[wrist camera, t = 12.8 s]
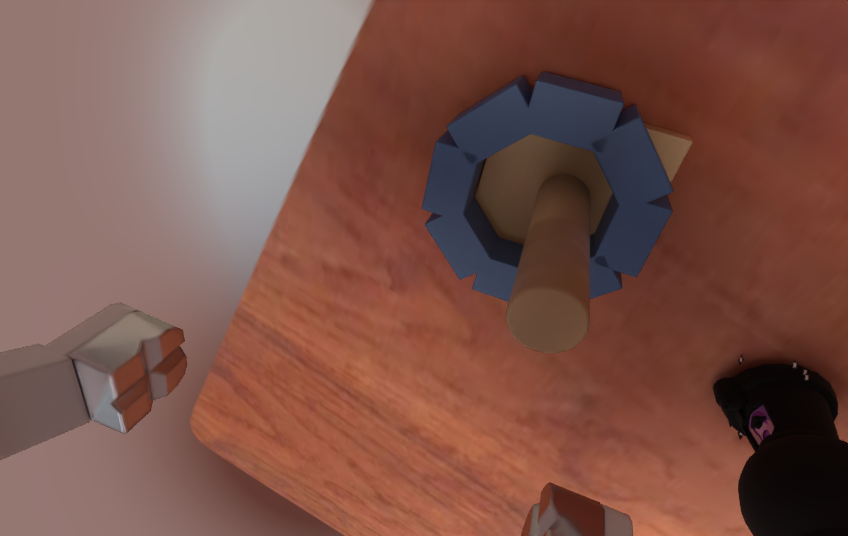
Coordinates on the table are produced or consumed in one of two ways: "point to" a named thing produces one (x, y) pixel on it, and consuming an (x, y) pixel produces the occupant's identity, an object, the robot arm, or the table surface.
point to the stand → (554, 229)
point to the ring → (563, 122)
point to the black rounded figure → (788, 450)
